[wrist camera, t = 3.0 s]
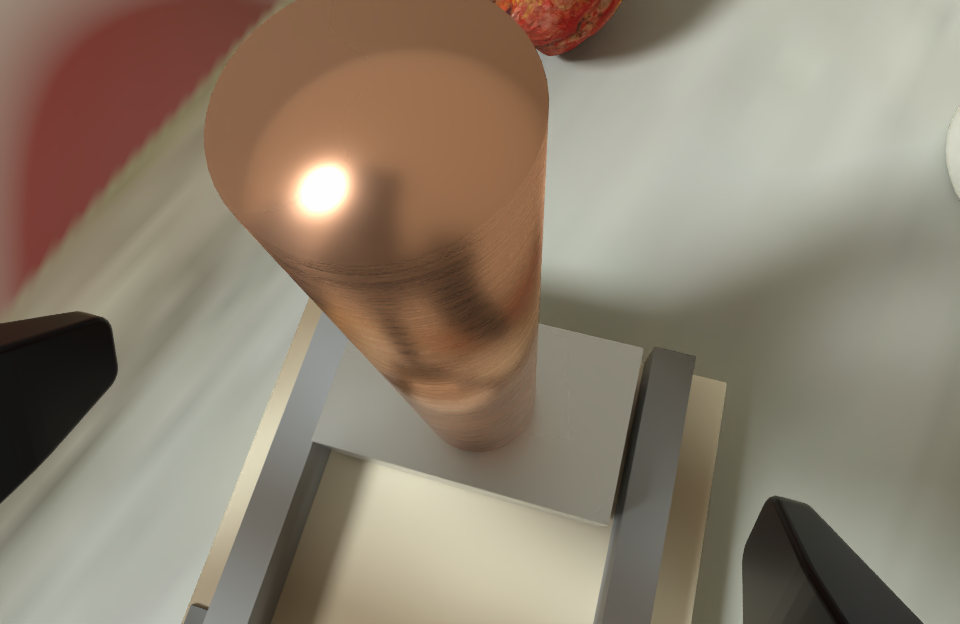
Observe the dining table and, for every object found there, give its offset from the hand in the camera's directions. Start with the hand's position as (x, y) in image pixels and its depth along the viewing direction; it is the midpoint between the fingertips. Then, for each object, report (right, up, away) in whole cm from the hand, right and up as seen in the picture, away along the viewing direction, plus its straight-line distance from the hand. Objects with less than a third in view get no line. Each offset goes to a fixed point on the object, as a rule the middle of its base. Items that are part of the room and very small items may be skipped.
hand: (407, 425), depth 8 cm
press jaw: (+1, -1, +8) cm, 9 cm away
